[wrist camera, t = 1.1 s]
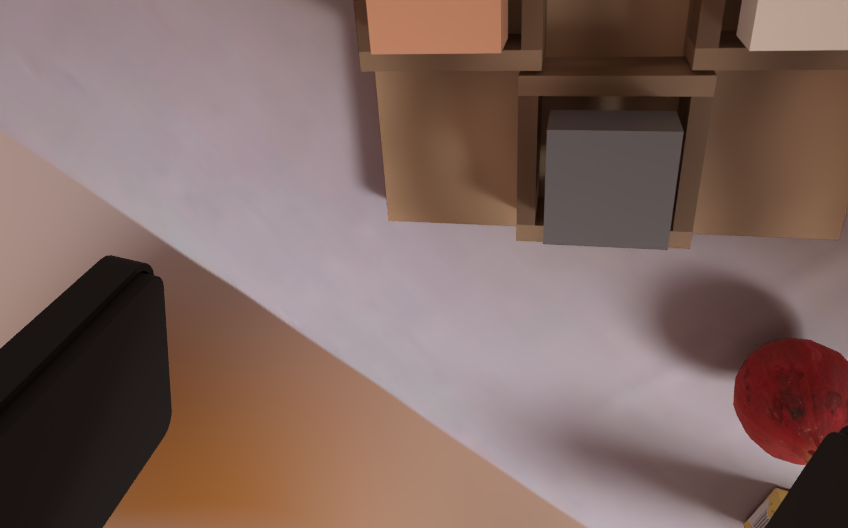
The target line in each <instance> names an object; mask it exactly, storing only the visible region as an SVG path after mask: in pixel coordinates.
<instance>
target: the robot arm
mask: <svg viewBox="0 0 848 528" xmlns="http://www.w3.org/2000/svg"><path fill="white" fill-rule="evenodd" d="M171 411H172V410H171V394H170V378H169V362H168V347H167V331H166V315H165V299H164V285H163V281H162V279H161V278H160V277H158V276H154V273H153V269H152V268H151V266H150V265H148V264H146V263H142V262H138V261H133V260H129V259H125V258H120V257H115V256H112V255H110V256H105V257H104V258H102V259H100V260H99V261H98V262H97V263H96V264H95V265H94V266H93V267H92V268H90V269H89V270H88V271H87V272H86V273H85V274H84V275H83V276H81V277H80V278H79V279H78V280H77V281H76V282H75V283H74V284H73V285H71V286H70V287H69V288H68V289H67V290H66V291H65V292H63V293H62V294H61V295H60V296H59V297H58V298H57V299H56V300H54V301H53V302H52V303H51V304H50V305H49V306H48V307H47V308H45V309H44V310H43V311H42V312H41V313H40V314H39V315H38V316H36V317H35V318H34V319H33V320H32V321H31V322H30V323H29V324H28V325H26V326H25V327H24V328H23V329H22V330H21V331H20V332H19V333H17V334H16V335H15V336H14V337H13V338H12V339H11V340H10V341H8V342H7V343H6V344H5V345H4V346H3V347H2V348H1V349H0V528H103V526H104V525H105V523H106V522H107V520H108V519H109V517H110V516H111V515H112V513H113V511H114V510H115V508H116V507H117V506H118V504H119V503H120V501H121V500H122V498H123V497H124V495H125V494H126V492H127V491H128V489H129V488H130V486H131V484H132V483H133V482H134V480H135V479H136V477H137V476H138V474H139V473H140V471H141V470H142V469H143V467H144V466H145V464H146V462H147V461H148V460H149V458H150V457H151V455H152V454H153V452H154V451H155V449H156V448H157V446H158V445H159V443H160V442H161V440H162V439H163V437H164V436H165V434H166V432H167V430H168V427H169V424H170V419H171ZM765 528H848V425H847V426H845V427H843V428H842V429H841V430H840V431H839V432H831V433H829V434H827V435H826V437H825V438H824V439H823V440H822V442H821V443H820V445H819V447H818V448H817V450H816V451H815V453H814V454H813V456H812V457H811V459H810V460H809V462H808V463H807V465H806V466H805V468H804V469H803V471H802V472H801V474H800V475H799V477H798V478H797V480H796V481H795V483H794V484H793V486H792V487H791V489H790V490H789V492H788V493H787V495H786V496H785V498H784V499H783V501H782V502H781V504H780V505H779V507H778V508H777V510H776V511H775V513H774V514H773V516H772V517H771V519H770V520H769V522H768V523H767V525H766V526H765Z"/></svg>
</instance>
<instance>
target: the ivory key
mask: <svg viewBox="0 0 848 528" xmlns="http://www.w3.org/2000/svg"><path fill="white" fill-rule="evenodd" d="M736 36H737V37H738V38H739V39H740V40H741V42H742V43H743V44H744V45H745V46H746V48H747V49H748V50H749V51H808V50H848V0H742V3H741V9H740V16H739V22H738V28H737V34H736Z"/></svg>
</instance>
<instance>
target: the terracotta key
mask: <svg viewBox="0 0 848 528" xmlns="http://www.w3.org/2000/svg"><path fill="white" fill-rule="evenodd" d="M366 6H367V17H368V28H369V38H370V49H371V54H477V53H501V52H502V50H503V48H504V46H505V43H506V41H507V39H508V0H366Z"/></svg>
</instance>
